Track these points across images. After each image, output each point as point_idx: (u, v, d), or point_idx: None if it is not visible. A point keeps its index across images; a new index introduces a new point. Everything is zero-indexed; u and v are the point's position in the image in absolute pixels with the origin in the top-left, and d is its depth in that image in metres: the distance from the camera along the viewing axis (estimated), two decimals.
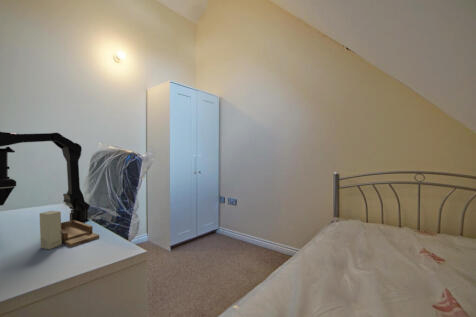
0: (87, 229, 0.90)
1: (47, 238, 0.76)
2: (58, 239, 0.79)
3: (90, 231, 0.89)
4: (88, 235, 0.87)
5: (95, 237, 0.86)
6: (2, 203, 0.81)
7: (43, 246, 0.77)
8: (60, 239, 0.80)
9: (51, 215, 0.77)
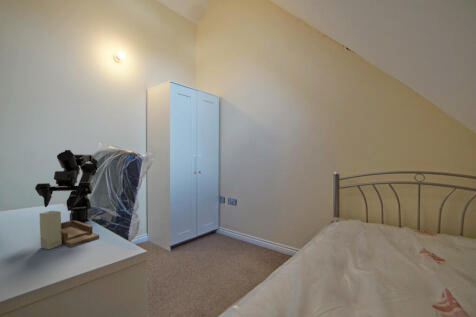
0: (87, 229, 0.90)
1: (47, 238, 0.76)
2: (58, 239, 0.79)
3: (90, 231, 0.89)
4: (88, 235, 0.87)
5: (95, 237, 0.86)
6: (75, 203, 0.89)
7: (43, 246, 0.77)
8: (60, 239, 0.80)
9: (51, 215, 0.77)
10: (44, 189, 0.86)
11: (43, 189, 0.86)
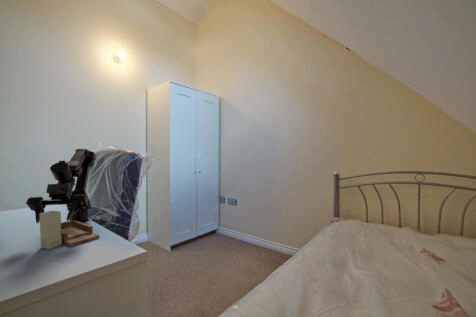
0: (87, 229, 0.90)
1: (47, 238, 0.76)
2: (58, 239, 0.79)
3: (90, 231, 0.89)
4: (88, 235, 0.87)
5: (95, 237, 0.86)
6: (69, 218, 0.83)
7: (43, 246, 0.77)
8: (60, 239, 0.80)
9: (51, 215, 0.77)
10: (36, 203, 0.81)
11: (35, 203, 0.81)
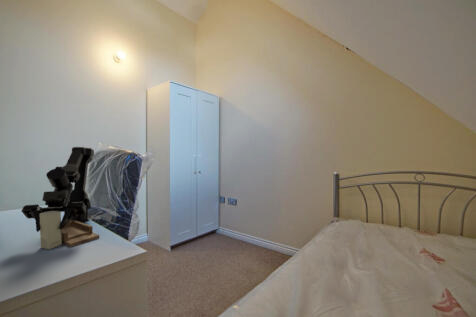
0: (87, 229, 0.90)
1: (47, 238, 0.76)
2: (58, 239, 0.79)
3: (90, 231, 0.89)
4: (88, 235, 0.87)
5: (95, 237, 0.86)
6: (62, 227, 0.80)
7: (43, 246, 0.77)
8: (60, 239, 0.80)
9: (51, 215, 0.77)
10: (36, 211, 0.78)
11: (35, 211, 0.78)
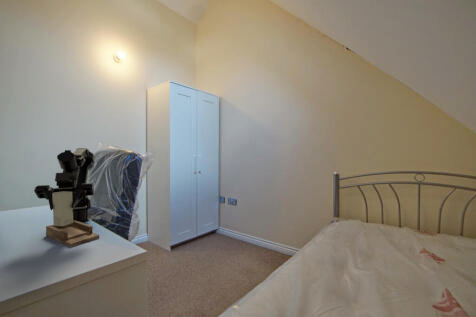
0: (87, 229, 0.90)
1: (61, 216, 0.82)
2: (70, 217, 0.85)
3: (90, 231, 0.89)
4: (88, 235, 0.87)
5: (95, 237, 0.86)
6: (74, 206, 0.85)
7: (56, 223, 0.83)
8: (72, 217, 0.85)
9: (64, 194, 0.82)
10: (49, 191, 0.83)
11: (47, 191, 0.83)
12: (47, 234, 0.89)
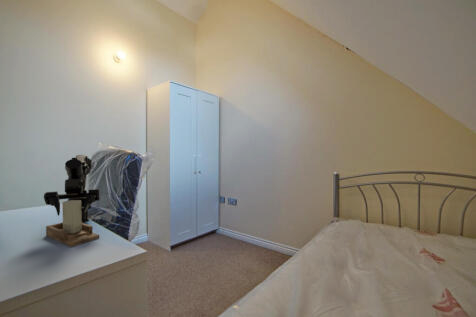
0: (87, 229, 0.90)
1: (71, 224, 0.86)
2: (79, 225, 0.89)
3: (90, 231, 0.89)
4: (88, 235, 0.87)
5: (95, 237, 0.86)
6: (85, 210, 0.90)
7: (66, 231, 0.87)
8: (81, 225, 0.90)
9: (74, 203, 0.87)
10: (55, 197, 0.86)
11: (54, 197, 0.86)
12: (47, 234, 0.89)
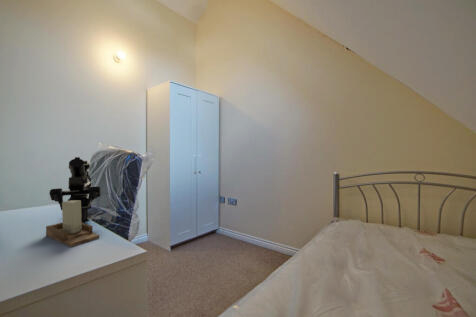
0: (87, 229, 0.90)
1: (71, 224, 0.86)
2: (79, 225, 0.89)
3: (90, 231, 0.89)
4: (88, 235, 0.87)
5: (95, 237, 0.86)
6: (88, 206, 0.98)
7: (66, 231, 0.87)
8: (81, 225, 0.90)
9: (74, 203, 0.87)
10: (59, 194, 0.94)
11: (58, 194, 0.94)
12: (47, 234, 0.89)
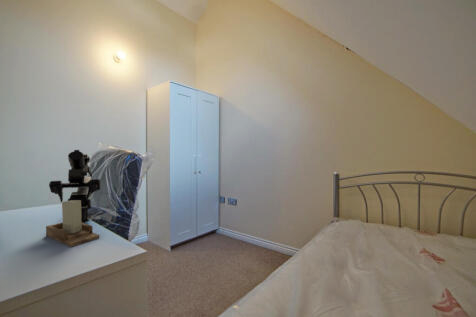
0: (87, 229, 0.90)
1: (71, 224, 0.86)
2: (79, 225, 0.89)
3: (90, 231, 0.89)
4: (88, 235, 0.87)
5: (95, 237, 0.86)
6: (88, 198, 0.98)
7: (66, 231, 0.87)
8: (81, 225, 0.90)
9: (74, 203, 0.87)
10: (58, 186, 0.94)
11: (57, 186, 0.94)
12: (47, 234, 0.89)
